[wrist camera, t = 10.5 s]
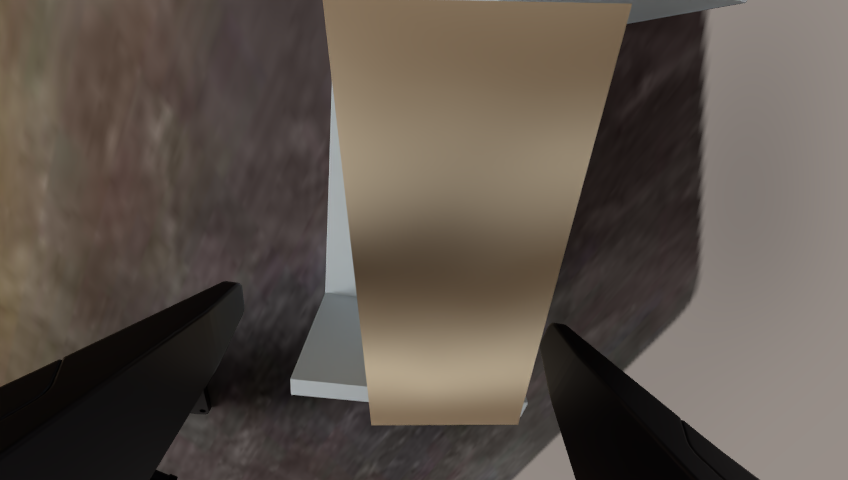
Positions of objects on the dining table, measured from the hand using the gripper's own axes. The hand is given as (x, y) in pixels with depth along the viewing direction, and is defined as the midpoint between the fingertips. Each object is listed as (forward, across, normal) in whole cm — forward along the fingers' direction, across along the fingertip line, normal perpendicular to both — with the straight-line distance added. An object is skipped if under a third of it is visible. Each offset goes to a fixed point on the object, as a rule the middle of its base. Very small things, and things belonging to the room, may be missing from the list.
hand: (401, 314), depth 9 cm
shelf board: (+5, -2, -1) cm, 5 cm away
